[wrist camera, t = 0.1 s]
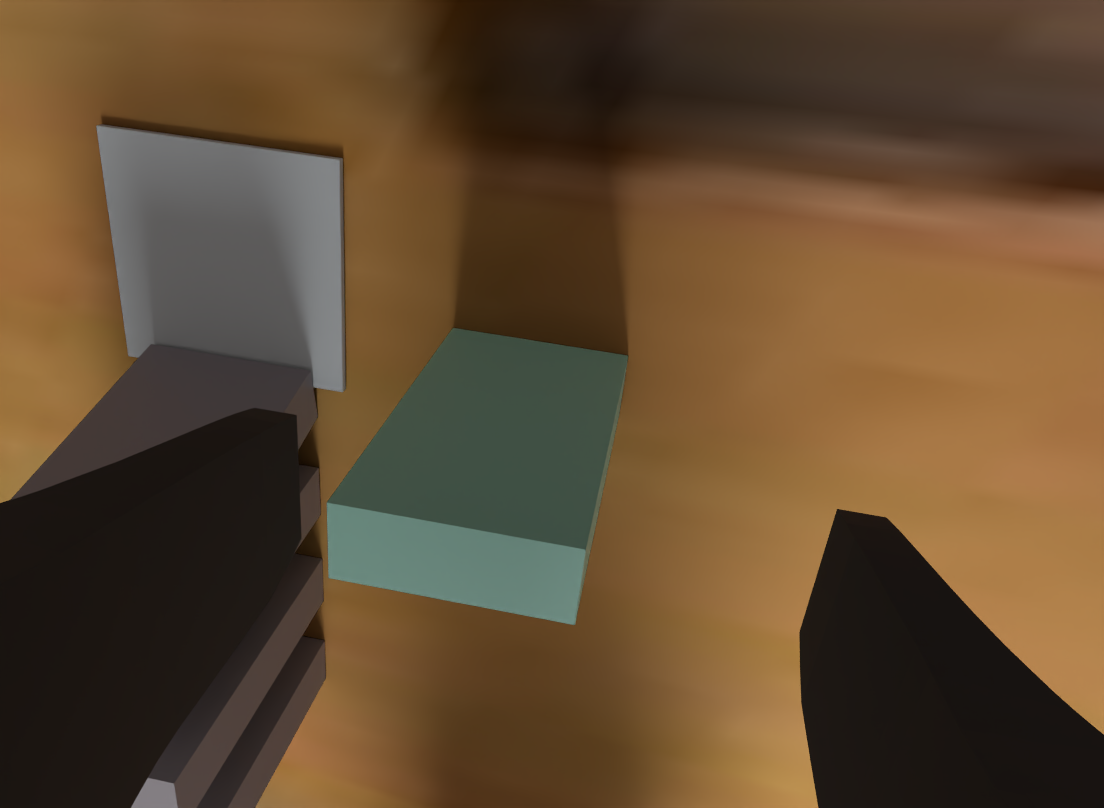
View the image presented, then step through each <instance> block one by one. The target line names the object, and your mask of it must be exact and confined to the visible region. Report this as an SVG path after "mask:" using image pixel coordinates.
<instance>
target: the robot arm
mask: <svg viewBox="0 0 1104 808" xmlns="http://www.w3.org/2000/svg"><path fill="white" fill-rule="evenodd" d="M301 539H302V534H301V509H300V484H299V459H298V433H297V415H294V414H288V413H282V412H277V411H271V410H265V409H259V408H251V409H248V410H245V411H241V412H238V413H235V414H233V415H230V416H227V417H225V418H222V419H219V420H217V421H214V422H212V423H209V424H207V425H204V426H202V427H200V428H197V429H195V430H192V431H190V432H188V433H185V434H183V435H180V436H178V437H176V438H173V439H171V440H168V441H166V442H163V443H161V444H159V445H156V446H154V447H151V448H149V449H146V450H144V451H142V452H139V453H137V454H134V455H132V456H129V457H127V458H125V459H122V460H120V461H117V462H115V463H112V464H109V465H107V466H104V467H101V468H99V469H96V470H93V471H90V472H88V473H85V474H82V475H80V476H77V477H74V478H72V479H69V480H66V481H64V482H61V483H58V484H56V485H53V486H50V487H47V488H45V489H42V490H39V491H36V492H33V493H30V494H27V495H24V496H21V497H18V498H15V499H12V500H9V501H6V502H3V503H0V808H131V807H132V805H133V803H134V801H135V800H136V798H137V796H138V794H139V793H140V791H141V789H142V787H143V786H144V784H145V782H146V780H147V779H148V777H149V775H150V773H151V771H152V770H153V768H154V766H155V764H156V763H157V761H158V760H159V758H160V756H161V755H162V753H163V752H164V750H165V749H166V747H167V746H168V744H169V743H170V741H171V740H172V738H173V737H174V735H175V733H176V732H177V730H178V729H179V728H180V726H181V725H182V723H183V722H184V721H185V719H186V718H187V716H188V715H189V714H190V712H191V711H192V709H193V708H194V707H195V705H196V704H197V702H198V701H199V700H200V698H201V697H202V695H203V694H204V693H205V691H206V690H207V688H208V687H209V686H210V684H211V683H212V681H213V680H214V679H215V677H216V676H217V674H218V673H219V672H220V670H221V669H222V667H223V666H224V665H225V663H226V662H227V660H228V659H229V658H230V656H231V655H232V653H233V652H234V651H235V649H236V648H237V646H238V645H239V644H240V642H241V641H242V639H243V638H244V637H245V635H246V634H247V632H248V631H249V629H250V628H251V627H252V625H253V624H254V622H255V621H256V619H257V618H258V617H259V615H260V614H261V612H262V611H263V609H264V608H265V606H266V605H267V603H268V602H269V600H270V599H271V597H272V595H273V594H274V592H275V590H276V588H277V586H278V584H279V582H280V581H281V579H282V577H283V575H284V573H285V571H286V569H287V567H288V565H289V563H290V561H291V559H292V557H293V555H294V553H295V551H296V549H297V547H298V545H299V543H300V541H301ZM800 677H801V702H802V709H803V716H804V723H805V729H806V735H807V741H808V747H809V754H810V760H811V766H812V772H813V778H814V784H815V790H816V796H817V802H818V807H819V808H1104V735H1103V734H1102V733H1101V732H1100V731H1098V730H1097V729H1096V728H1095V727H1094V726H1092V725H1091V724H1090V723H1089V722H1088V721H1086V720H1085V719H1084V718H1083V717H1082V716H1080V715H1079V714H1078V713H1077V712H1076V711H1075V710H1073V709H1072V708H1071V707H1070V706H1069V705H1068V704H1067V703H1066V702H1064V701H1063V700H1062V699H1061V698H1060V697H1059V696H1058V695H1057V694H1055V693H1054V692H1053V691H1052V690H1051V689H1050V688H1049V687H1048V686H1047V685H1046V684H1045V683H1044V682H1043V681H1042V680H1041V679H1040V678H1038V677H1037V676H1036V675H1035V674H1034V673H1033V672H1032V671H1031V670H1030V669H1029V668H1028V667H1027V666H1026V665H1025V664H1024V663H1023V662H1022V661H1021V660H1020V659H1019V658H1018V657H1017V656H1015V655H1014V654H1013V653H1012V652H1011V651H1010V650H1009V649H1008V648H1007V647H1006V646H1005V645H1004V644H1003V643H1002V642H1001V641H1000V640H999V639H998V638H997V637H996V636H995V635H994V633H993V632H992V631H991V630H990V629H989V628H988V627H987V626H986V625H985V624H984V623H983V622H982V621H981V620H980V619H979V618H978V617H977V616H976V615H975V614H974V613H973V612H972V610H971V609H970V608H969V607H968V606H967V605H966V604H965V603H964V602H963V601H962V600H961V599H960V598H959V596H958V595H957V594H956V593H955V592H954V591H953V590H952V589H951V588H950V587H949V585H948V584H947V583H946V582H945V581H944V580H943V579H942V578H941V577H940V575H939V574H938V573H937V572H936V571H935V570H934V569H933V568H932V567H931V565H930V564H929V563H928V562H927V561H926V560H925V559H924V558H923V556H922V555H921V554H920V553H919V552H918V551H917V550H916V549H915V547H914V546H913V545H912V544H911V543H910V542H909V541H908V540H907V539H906V537H905V536H904V535H903V534H902V533H901V532H900V531H899V530H898V529H897V528H896V527H895V526H894V525H893V524H892V523H891V522H890V521H889V520H888V519H887V518H886V517H880V516H874V515H869V514H863V513H857V512H851V511H846V510H840V509H837V511H836V515H835V518H834V521H833V525H832V528H831V531H830V534H829V538H828V541H827V544H826V547H825V551H824V554H823V557H822V561H821V564H820V567H819V570H818V574H817V577H816V580H815V583H814V587H813V590H812V593H811V596H810V600H809V603H808V606H807V610H806V613H805V616H804V619H803V623H802V626H801V629H800Z"/></svg>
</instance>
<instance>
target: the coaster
mask: <svg viewBox="0 0 1104 808" xmlns="http://www.w3.org/2000/svg"><path fill="white" fill-rule="evenodd" d="M96 127H97V135H98V142H99V149H100V156H101V163H102V170H103V178H104V185H105V192H106V199H107V206H108V213H109V220H110V228H111V235H112V242H113V249H114V256H115V263H116V270H117V278H118V285H119V292H120V299H121V306H122V313H123V320H124V328H125V335H126V342H127V349H128V356H131V357H137V358H139V357H140V356H141V354H142V353H143V352H144V351H145V350H146V349H147V348H148V347H149V346H150V344H154V345H160V346H166V347H172V348H178V349H184V350H190V351H196V352H202V353H208V354H214V355H220V356H226V357H231V358H237V359H243V360H249V361H255V362H261V363H267V364H273V365H279V366H285V367H291V368H297V369H303V370H309V371H311V377H312V383H313V387H315V388H321V389H327V390H333V391H339V392H343V391H344V390H345V389H346V379H345V299H344V219H343V158H338V157H331V156H324V155H317V154H309V153H302V152H295V151H288V150H281V149H274V148H267V147H260V146H252V145H245V144H238V143H231V142H224V141H217V140H210V139H203V138H195V137H188V136H181V135H174V134H167V133H160V132H153V131H146V130H138V129H131V128H124V127H117V126H110V125H103V124H101V125H97V126H96Z"/></svg>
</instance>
